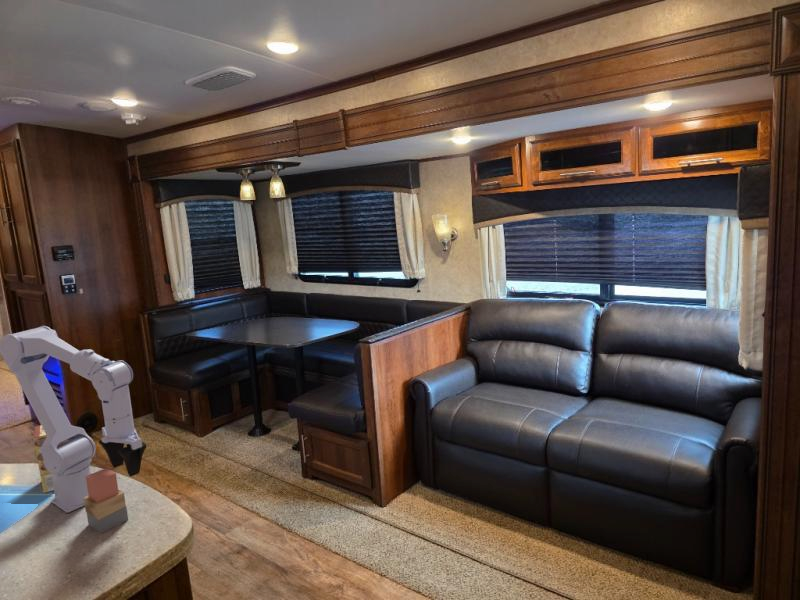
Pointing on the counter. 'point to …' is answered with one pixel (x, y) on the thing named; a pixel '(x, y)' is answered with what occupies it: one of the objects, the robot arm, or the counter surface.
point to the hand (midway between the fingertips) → (126, 470)
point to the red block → (102, 485)
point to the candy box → (44, 473)
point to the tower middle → (104, 505)
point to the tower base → (108, 520)
